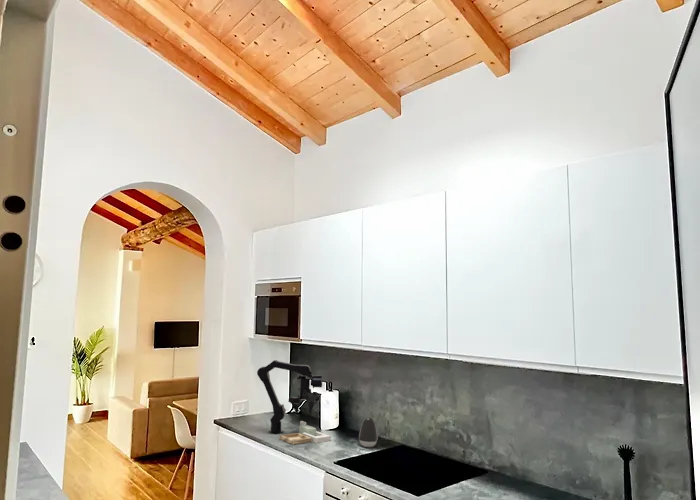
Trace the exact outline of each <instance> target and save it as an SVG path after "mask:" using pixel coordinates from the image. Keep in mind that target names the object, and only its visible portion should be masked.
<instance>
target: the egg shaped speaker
mask: <svg viewBox="0 0 700 500" xmlns="http://www.w3.org/2000/svg"><path fill="white" fill-rule="evenodd" d="M378 437H379V436H378V431H377V425H376V423H375V421H374V418H373V417H372V416H369V417H365V418H364V420H363V421H362V423H361V426H360V430H359V434H358V440H359V443H360V445H361V446H362V447H364V448H373V447H375V446H376V444H377V441H378V439H379V438H378Z"/></svg>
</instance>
